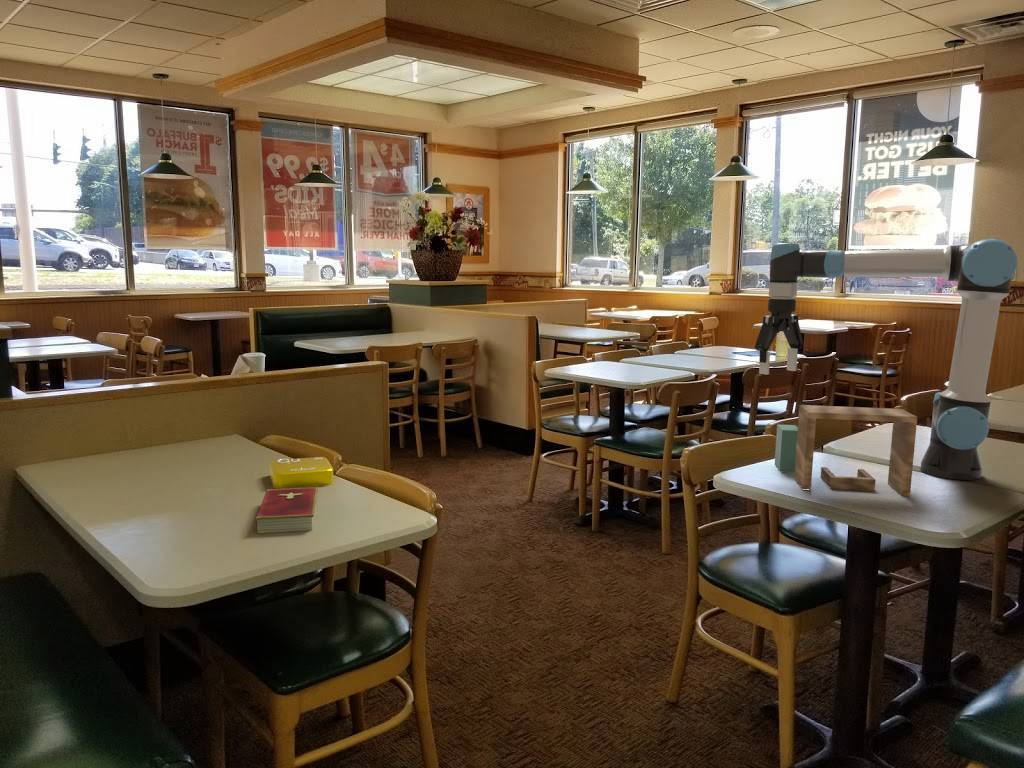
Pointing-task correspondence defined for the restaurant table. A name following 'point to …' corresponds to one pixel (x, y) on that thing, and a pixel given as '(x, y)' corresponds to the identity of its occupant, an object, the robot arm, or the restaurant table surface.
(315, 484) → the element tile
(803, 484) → the wooden arch
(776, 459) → the green rectangular block
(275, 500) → the hardcover book
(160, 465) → the restaurant table surface
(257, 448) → the restaurant table surface
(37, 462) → the restaurant table surface
